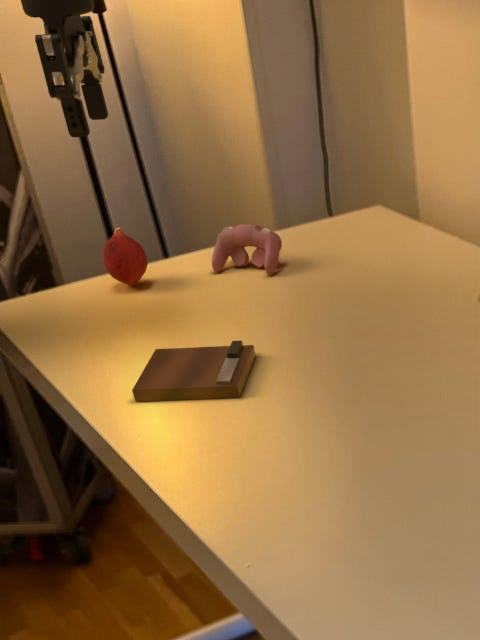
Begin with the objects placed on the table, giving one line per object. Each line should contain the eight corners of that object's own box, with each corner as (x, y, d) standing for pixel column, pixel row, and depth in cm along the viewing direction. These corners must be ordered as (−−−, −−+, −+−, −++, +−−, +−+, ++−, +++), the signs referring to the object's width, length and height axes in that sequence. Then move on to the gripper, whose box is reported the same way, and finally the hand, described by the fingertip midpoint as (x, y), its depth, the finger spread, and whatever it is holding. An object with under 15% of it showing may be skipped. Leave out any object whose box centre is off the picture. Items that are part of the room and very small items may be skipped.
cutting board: (135, 402, 112) (129, 382, 110) (158, 360, 120) (153, 341, 119) (239, 397, 112) (235, 378, 110) (255, 356, 120) (252, 337, 119)
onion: (128, 297, 137) (112, 238, 132) (103, 288, 140) (86, 231, 134) (161, 283, 140) (146, 225, 135) (136, 275, 143) (121, 218, 138)
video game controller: (284, 278, 144) (286, 227, 142) (271, 274, 140) (272, 222, 138) (223, 275, 146) (223, 224, 144) (208, 271, 142) (208, 219, 140)
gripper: (32, -44, 111) (75, 115, 122) (-11, -29, 100) (40, 144, 111) (99, -47, 111) (135, 112, 122) (63, -32, 100) (106, 141, 111)
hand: (90, 127), depth 116 cm, fingers open, 8 cm apart
